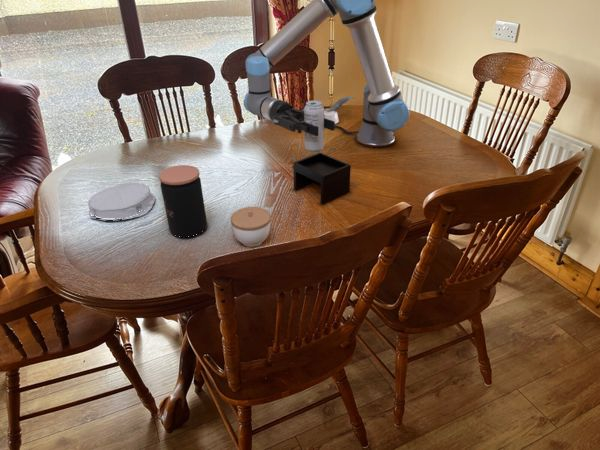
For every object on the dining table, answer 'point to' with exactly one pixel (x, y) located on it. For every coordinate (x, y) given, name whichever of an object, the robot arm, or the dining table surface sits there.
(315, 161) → the stand
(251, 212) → the trinket box
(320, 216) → the dining table surface
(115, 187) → the food container
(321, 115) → the energy drink can
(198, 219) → the coffee jar
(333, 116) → the inkwell
